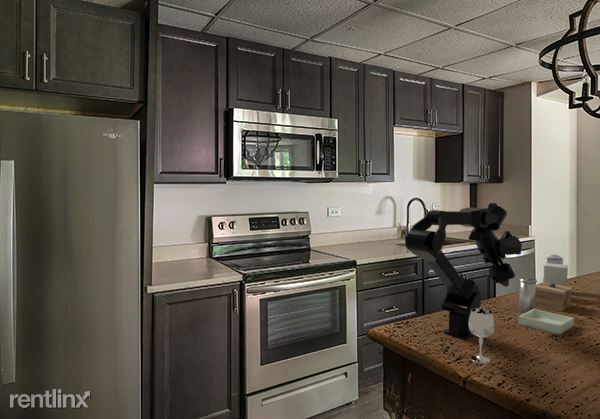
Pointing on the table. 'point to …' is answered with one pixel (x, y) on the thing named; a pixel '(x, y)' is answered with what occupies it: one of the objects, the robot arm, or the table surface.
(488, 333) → the wineglass
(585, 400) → the table surface
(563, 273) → the supplement box
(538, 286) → the lidded bin
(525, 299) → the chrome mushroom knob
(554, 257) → the syrup box
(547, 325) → the tray
